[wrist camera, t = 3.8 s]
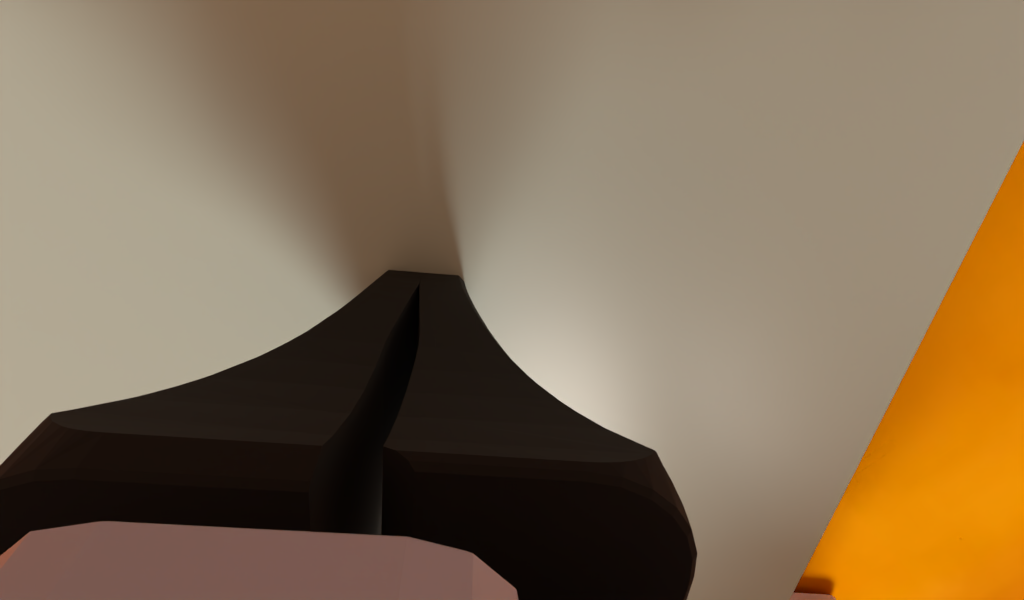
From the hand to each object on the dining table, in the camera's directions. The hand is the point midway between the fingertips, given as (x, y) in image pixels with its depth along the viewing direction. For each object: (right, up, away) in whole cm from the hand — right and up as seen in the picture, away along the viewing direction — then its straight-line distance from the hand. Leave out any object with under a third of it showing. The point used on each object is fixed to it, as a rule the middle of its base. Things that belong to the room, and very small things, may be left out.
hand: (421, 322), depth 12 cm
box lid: (0, 0, +1) cm, 1 cm away
